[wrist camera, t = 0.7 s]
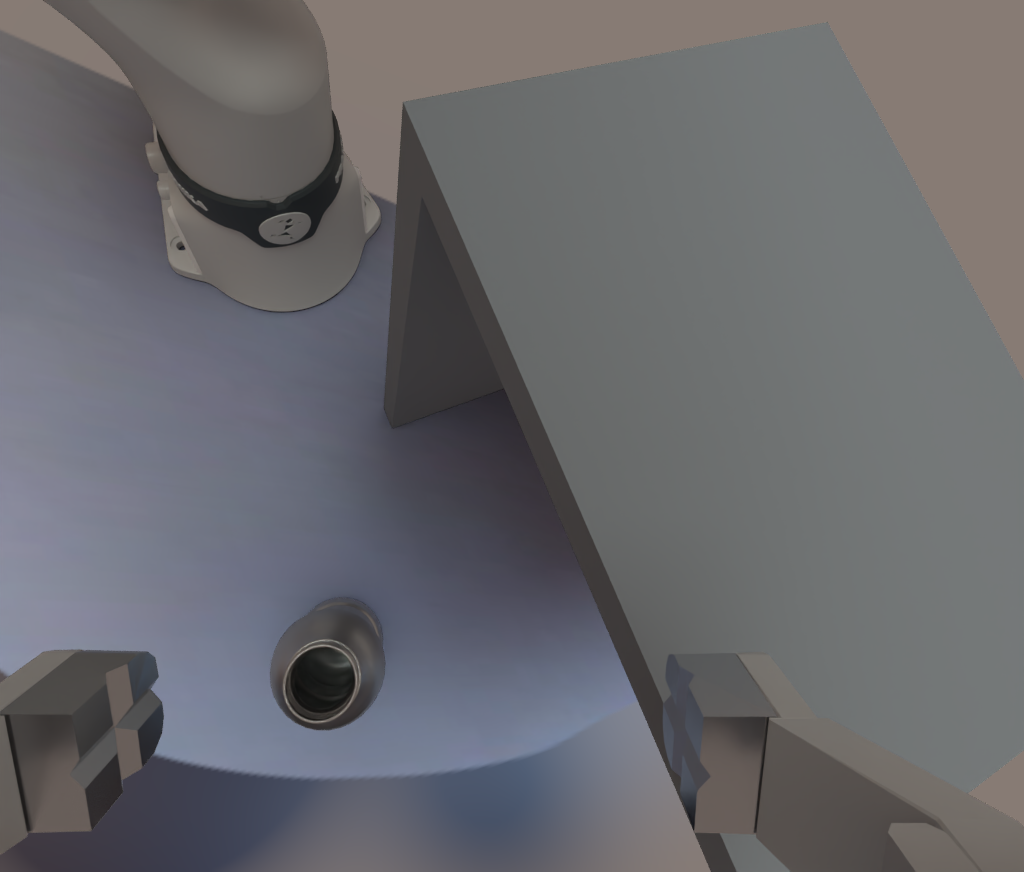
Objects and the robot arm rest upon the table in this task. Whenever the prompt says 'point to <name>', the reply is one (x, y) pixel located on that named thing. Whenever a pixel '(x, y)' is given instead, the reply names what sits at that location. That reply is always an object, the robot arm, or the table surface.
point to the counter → (734, 381)
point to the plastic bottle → (329, 665)
